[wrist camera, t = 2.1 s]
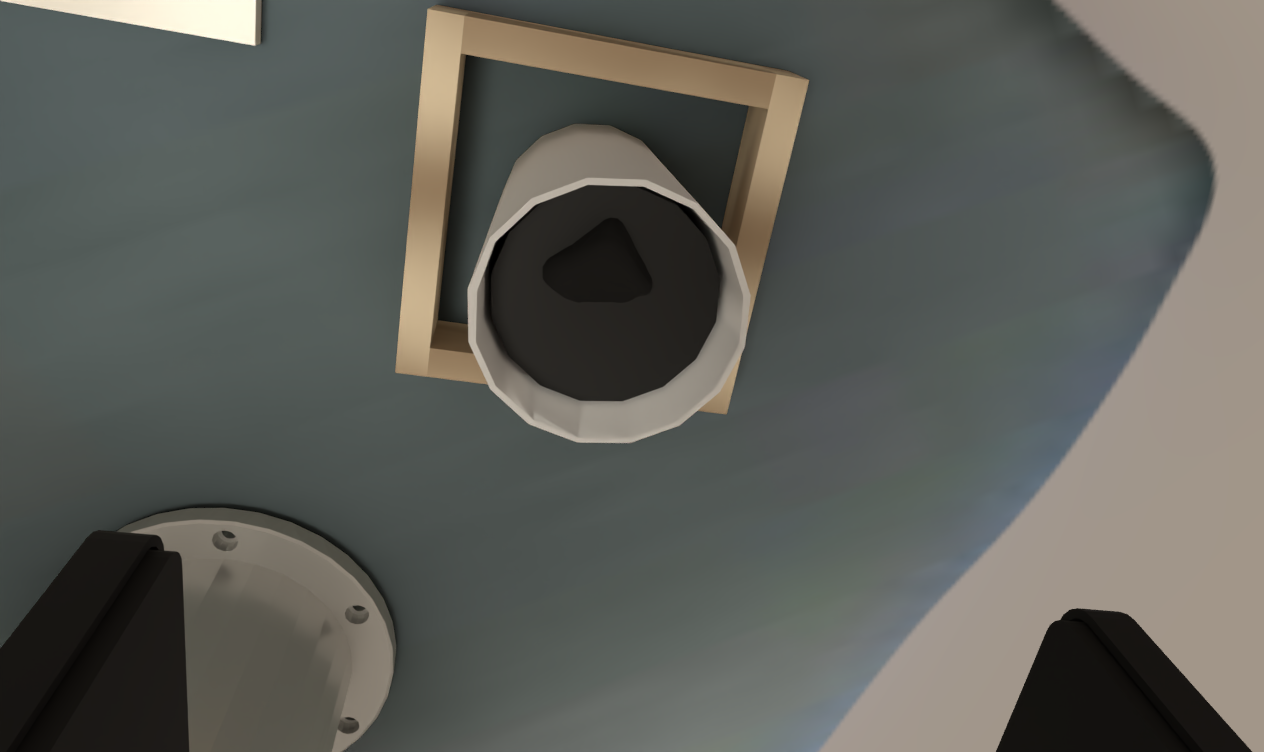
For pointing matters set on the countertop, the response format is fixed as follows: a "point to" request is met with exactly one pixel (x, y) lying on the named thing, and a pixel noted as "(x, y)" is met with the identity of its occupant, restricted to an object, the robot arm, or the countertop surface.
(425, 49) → the wooden frame
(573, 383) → the drinking glass
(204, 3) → the coaster
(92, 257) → the countertop surface
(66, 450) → the countertop surface
